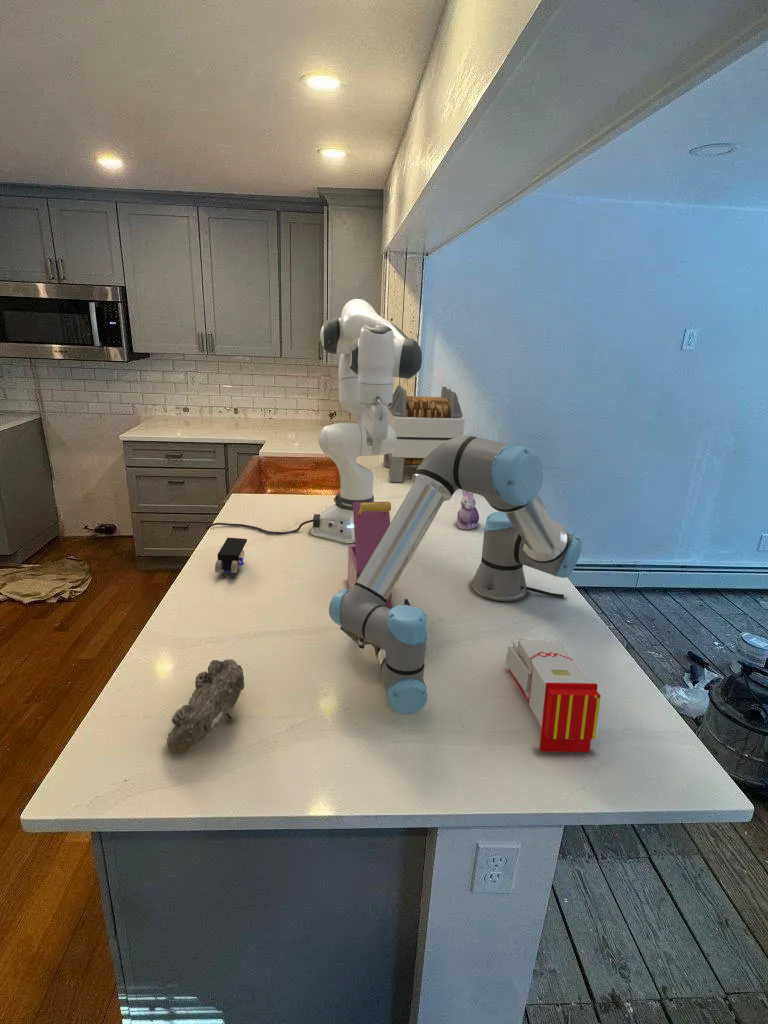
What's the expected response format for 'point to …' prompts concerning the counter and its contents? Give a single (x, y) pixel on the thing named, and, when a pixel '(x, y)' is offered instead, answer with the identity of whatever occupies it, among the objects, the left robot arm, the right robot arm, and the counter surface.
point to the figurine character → (230, 556)
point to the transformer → (420, 427)
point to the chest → (357, 572)
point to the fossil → (206, 705)
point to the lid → (369, 528)
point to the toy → (556, 694)
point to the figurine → (467, 512)
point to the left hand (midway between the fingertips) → (372, 449)
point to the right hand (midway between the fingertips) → (378, 605)
